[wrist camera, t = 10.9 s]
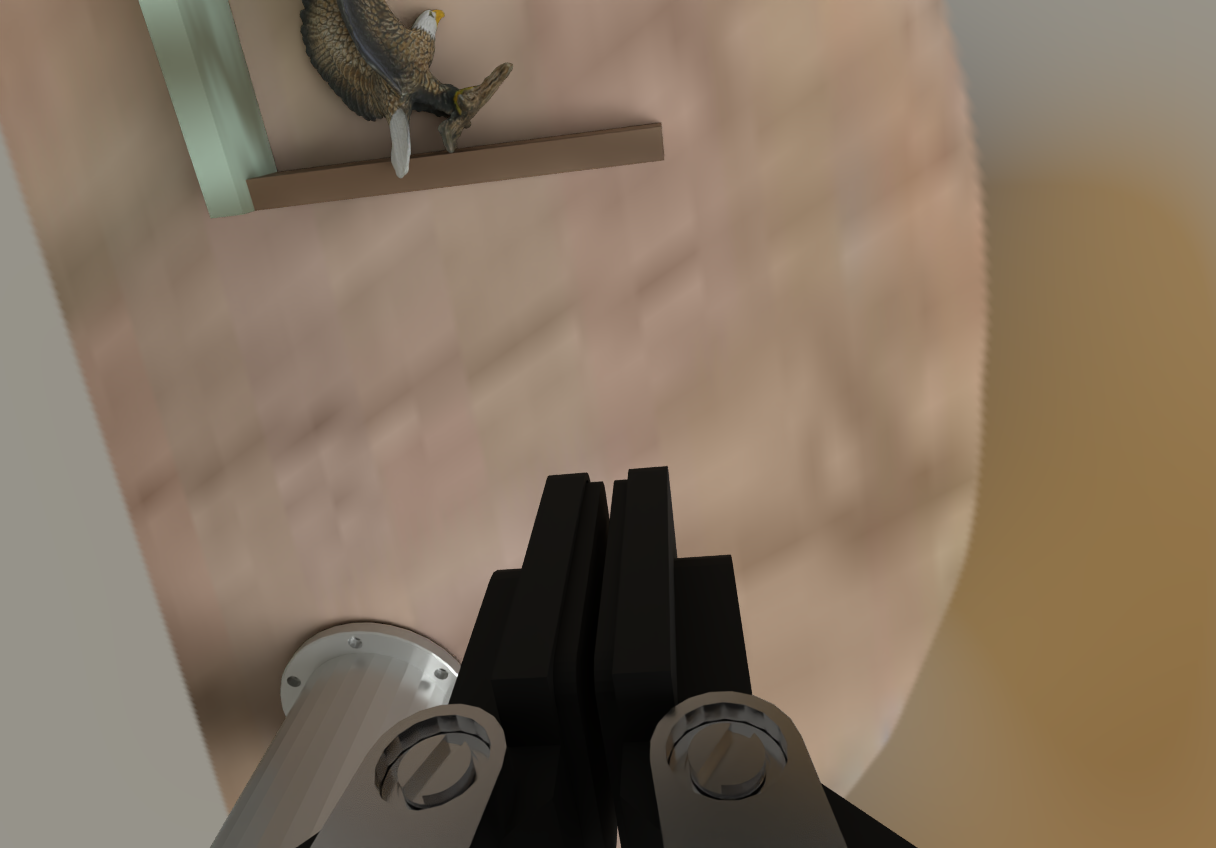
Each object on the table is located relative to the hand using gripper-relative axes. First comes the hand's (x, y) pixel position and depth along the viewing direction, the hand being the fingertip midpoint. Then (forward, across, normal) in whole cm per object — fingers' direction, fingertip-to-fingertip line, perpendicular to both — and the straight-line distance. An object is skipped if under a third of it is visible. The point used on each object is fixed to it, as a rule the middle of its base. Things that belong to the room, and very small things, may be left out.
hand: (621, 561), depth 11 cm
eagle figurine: (+27, +10, -9) cm, 30 cm away
